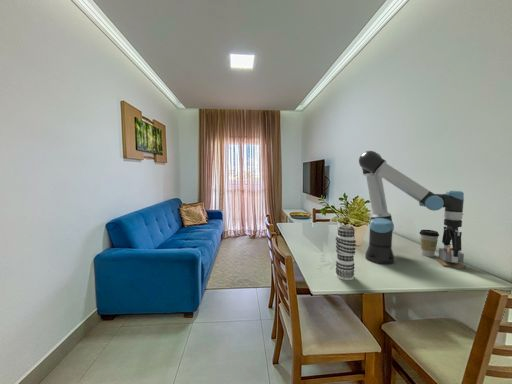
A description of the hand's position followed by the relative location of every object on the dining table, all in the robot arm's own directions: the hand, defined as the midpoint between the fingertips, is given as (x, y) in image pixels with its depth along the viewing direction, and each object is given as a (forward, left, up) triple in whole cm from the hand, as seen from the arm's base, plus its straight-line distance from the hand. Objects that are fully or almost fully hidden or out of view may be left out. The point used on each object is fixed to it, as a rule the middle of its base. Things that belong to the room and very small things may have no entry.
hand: (450, 259), depth 128 cm
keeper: (0, 0, -3) cm, 3 cm away
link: (0, 0, 0) cm, 0 cm away
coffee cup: (-6, +13, -3) cm, 15 cm away
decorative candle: (-57, -34, -3) cm, 66 cm away
